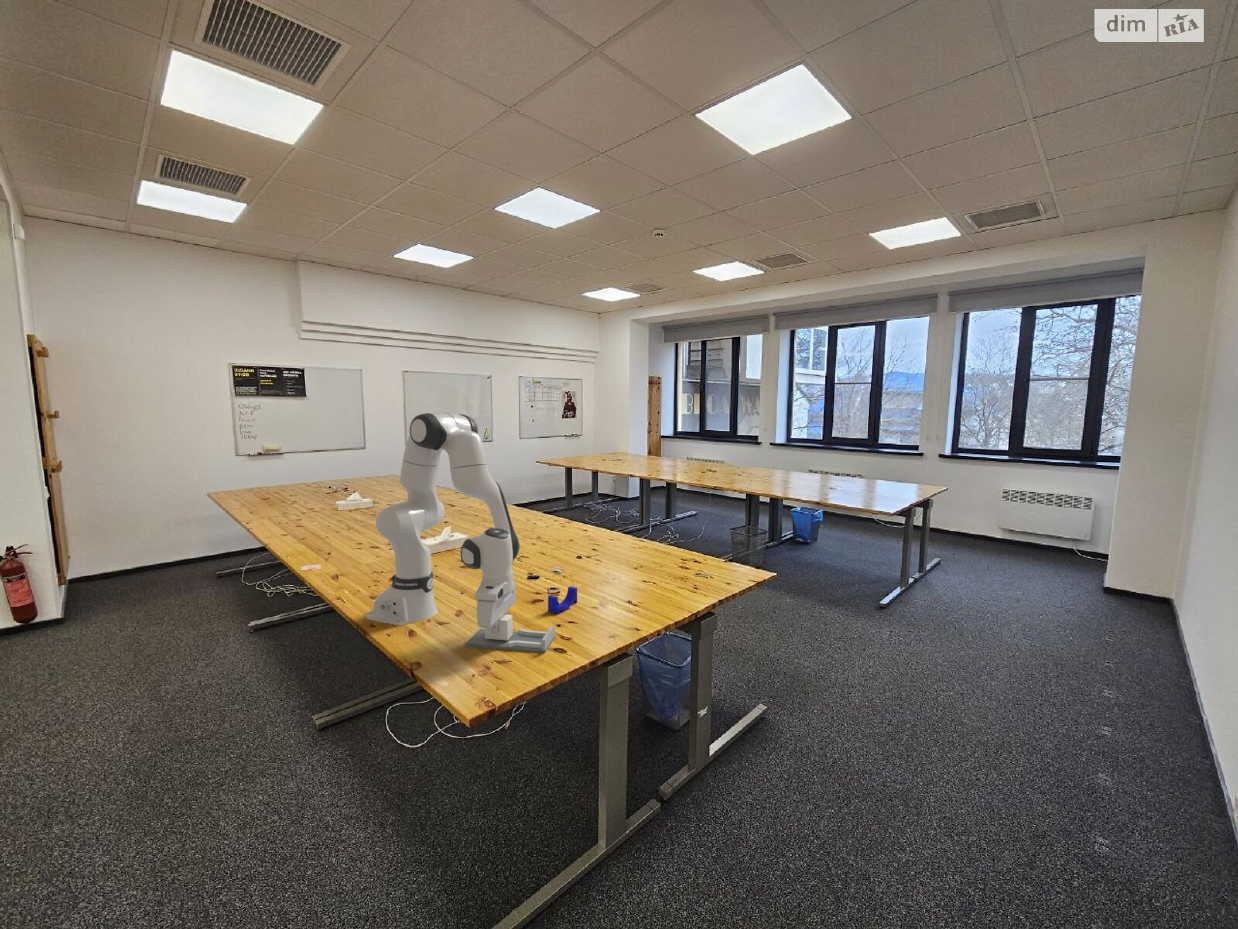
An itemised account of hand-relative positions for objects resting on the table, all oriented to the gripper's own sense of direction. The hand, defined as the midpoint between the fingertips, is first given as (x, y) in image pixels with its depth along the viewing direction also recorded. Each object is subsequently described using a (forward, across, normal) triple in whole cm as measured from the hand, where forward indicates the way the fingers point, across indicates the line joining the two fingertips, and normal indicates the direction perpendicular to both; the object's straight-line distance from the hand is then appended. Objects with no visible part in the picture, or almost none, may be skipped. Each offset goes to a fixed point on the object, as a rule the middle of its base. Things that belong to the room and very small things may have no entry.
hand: (498, 629), depth 148 cm
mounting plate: (+4, 0, +4) cm, 5 cm away
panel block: (+2, 0, 0) cm, 2 cm away
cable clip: (+4, -28, +12) cm, 31 cm away
